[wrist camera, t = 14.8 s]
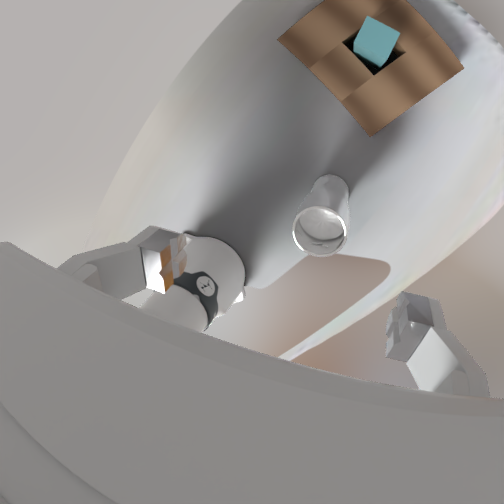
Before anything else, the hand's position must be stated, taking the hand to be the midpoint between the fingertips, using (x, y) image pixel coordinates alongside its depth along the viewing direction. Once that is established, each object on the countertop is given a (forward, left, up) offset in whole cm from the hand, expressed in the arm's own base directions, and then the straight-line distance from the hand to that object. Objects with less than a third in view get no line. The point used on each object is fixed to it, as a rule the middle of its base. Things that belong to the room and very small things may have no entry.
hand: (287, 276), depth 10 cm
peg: (+13, +7, -37) cm, 40 cm away
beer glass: (-7, -6, -37) cm, 38 cm away
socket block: (+13, +7, -37) cm, 40 cm away
